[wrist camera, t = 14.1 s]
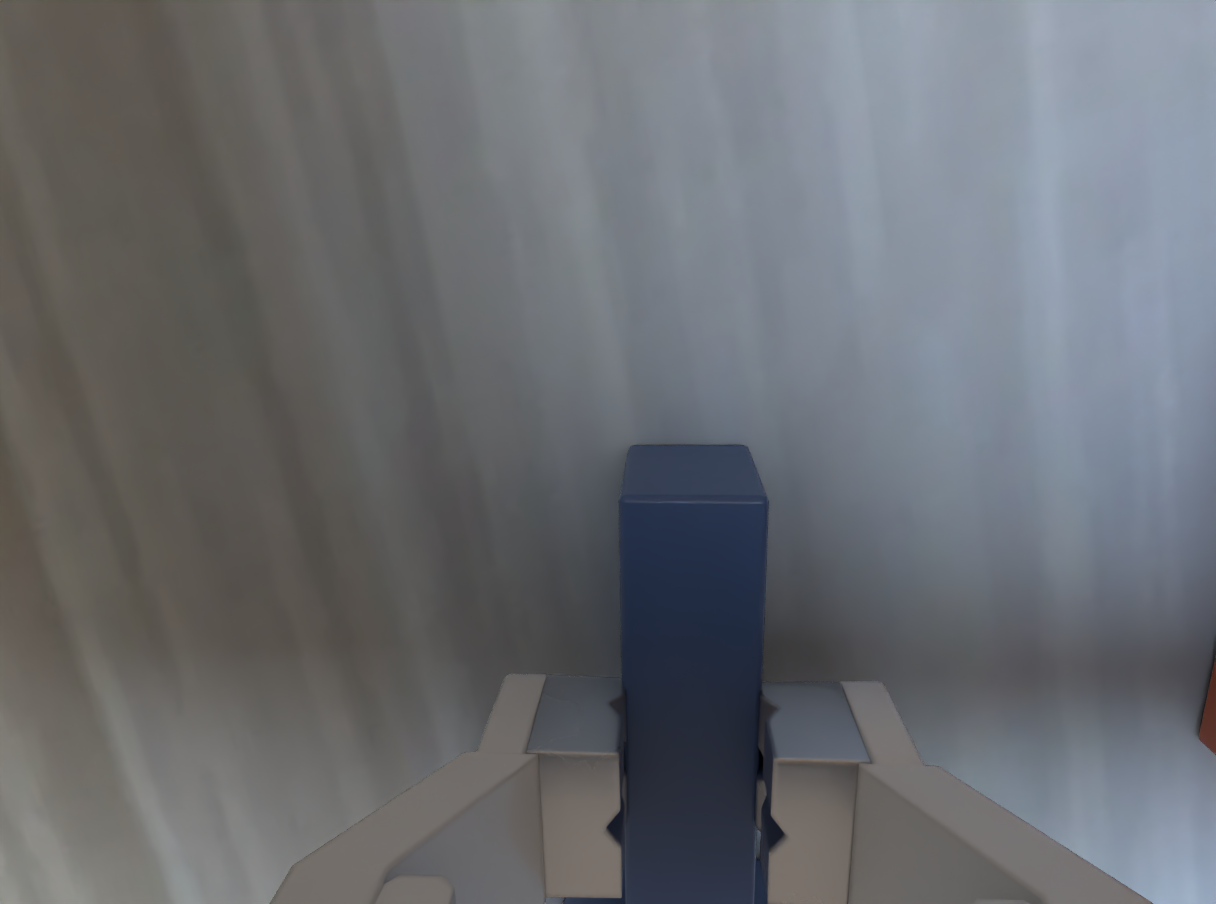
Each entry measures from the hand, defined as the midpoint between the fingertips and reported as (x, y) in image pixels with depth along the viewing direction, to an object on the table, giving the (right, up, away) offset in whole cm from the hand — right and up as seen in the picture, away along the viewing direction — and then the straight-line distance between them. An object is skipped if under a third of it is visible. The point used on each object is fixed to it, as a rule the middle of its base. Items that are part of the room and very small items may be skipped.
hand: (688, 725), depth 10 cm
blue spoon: (0, -2, +2) cm, 3 cm away
